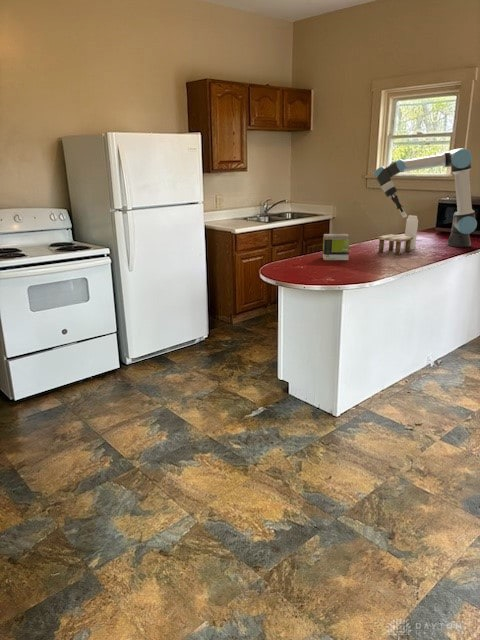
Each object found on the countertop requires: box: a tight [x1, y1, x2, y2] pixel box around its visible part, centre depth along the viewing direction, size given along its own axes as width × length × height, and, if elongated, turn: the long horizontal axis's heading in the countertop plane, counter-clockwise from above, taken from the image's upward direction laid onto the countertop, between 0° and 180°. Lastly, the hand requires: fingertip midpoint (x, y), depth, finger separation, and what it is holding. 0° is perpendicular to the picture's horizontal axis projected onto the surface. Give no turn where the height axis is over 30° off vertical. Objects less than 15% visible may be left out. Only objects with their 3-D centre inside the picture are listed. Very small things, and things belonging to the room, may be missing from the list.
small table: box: [377, 233, 413, 256], centre depth 319 cm, size 16×16×10 cm
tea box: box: [322, 233, 351, 261], centre depth 299 cm, size 15×10×15 cm, turn 84°
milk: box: [403, 214, 419, 251], centre depth 329 cm, size 6×6×22 cm
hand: (405, 216), depth 328 cm, fingers open, 13 cm apart
